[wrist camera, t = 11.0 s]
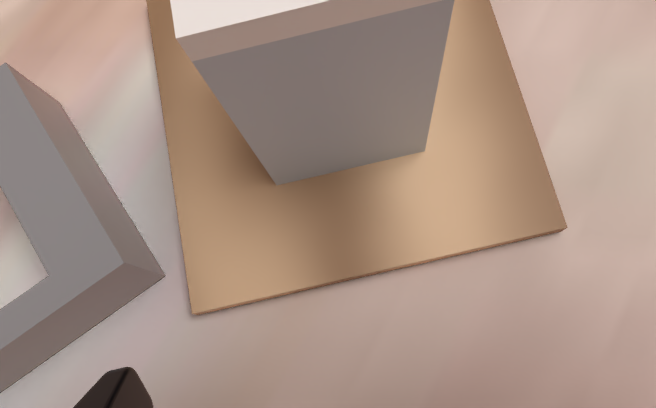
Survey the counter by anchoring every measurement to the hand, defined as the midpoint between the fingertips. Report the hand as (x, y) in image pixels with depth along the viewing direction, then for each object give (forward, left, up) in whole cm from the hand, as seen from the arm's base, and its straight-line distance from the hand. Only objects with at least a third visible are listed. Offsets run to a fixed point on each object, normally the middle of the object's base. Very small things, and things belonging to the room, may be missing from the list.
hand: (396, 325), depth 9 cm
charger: (+6, -6, -8) cm, 11 cm away
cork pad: (+6, -6, -8) cm, 12 cm away
